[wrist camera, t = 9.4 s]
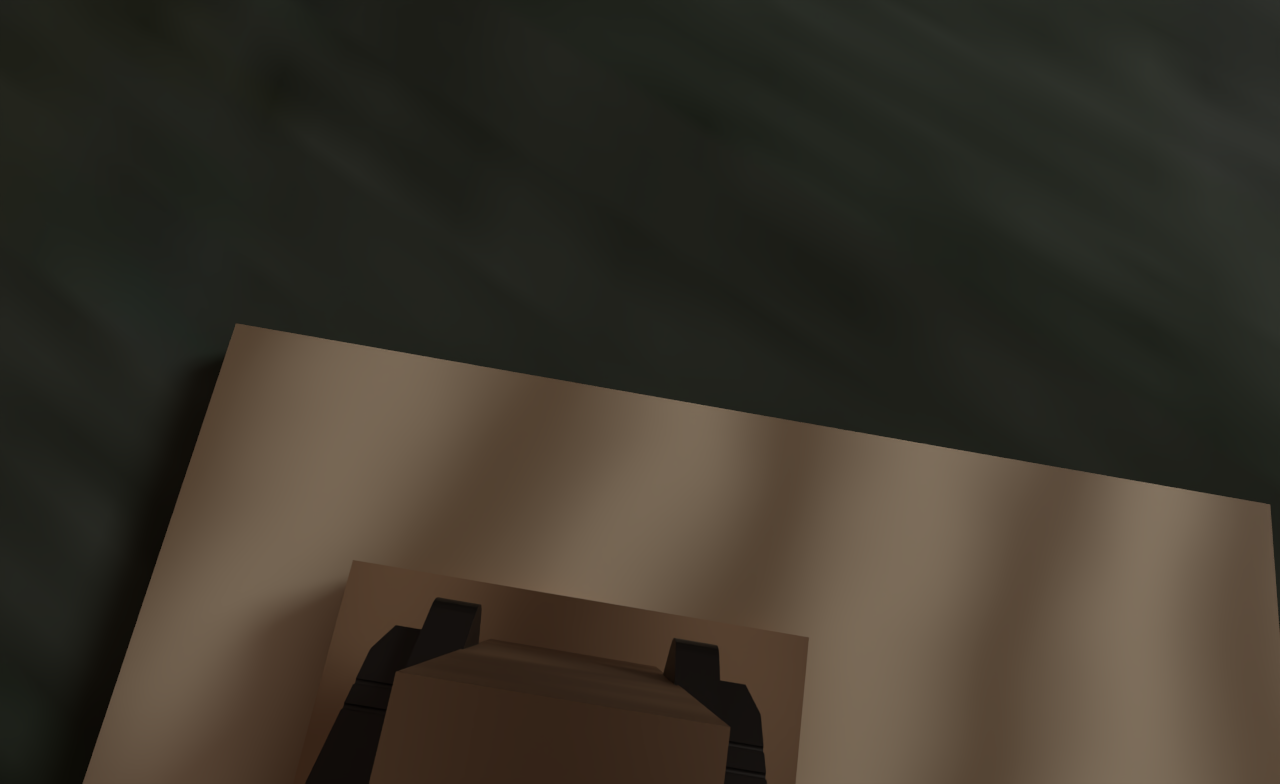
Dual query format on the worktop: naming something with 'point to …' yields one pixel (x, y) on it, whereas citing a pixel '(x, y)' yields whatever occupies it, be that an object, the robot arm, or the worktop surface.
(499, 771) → the block
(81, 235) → the worktop surface
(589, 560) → the birch board
